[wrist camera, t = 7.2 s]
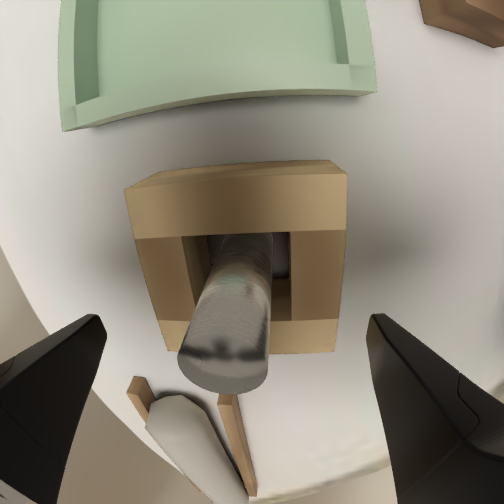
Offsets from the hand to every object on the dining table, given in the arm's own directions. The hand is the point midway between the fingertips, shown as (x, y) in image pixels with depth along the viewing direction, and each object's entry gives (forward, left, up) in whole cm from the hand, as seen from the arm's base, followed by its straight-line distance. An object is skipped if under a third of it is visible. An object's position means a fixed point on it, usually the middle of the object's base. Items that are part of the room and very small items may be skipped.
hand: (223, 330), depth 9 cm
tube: (+6, +24, -7) cm, 26 cm away
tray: (+1, -13, -6) cm, 15 cm away
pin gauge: (0, 0, -6) cm, 6 cm away
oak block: (0, 0, -6) cm, 6 cm away
